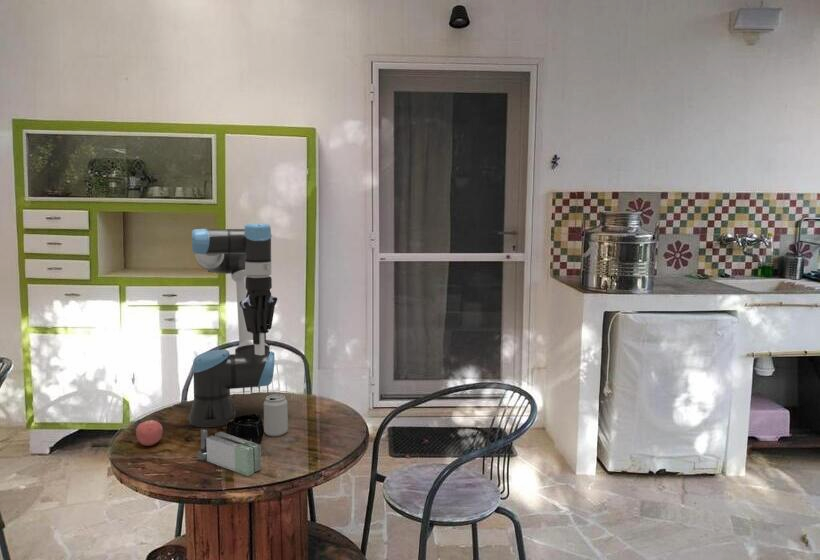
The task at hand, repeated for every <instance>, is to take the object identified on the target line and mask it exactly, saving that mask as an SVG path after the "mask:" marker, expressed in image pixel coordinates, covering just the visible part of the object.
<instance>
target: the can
mask: <svg viewBox="0 0 820 560" xmlns="http://www.w3.org/2000/svg"><path fill="white" fill-rule="evenodd" d="M288 413H289V412H288V400H287V399H286V396H285V395H283V394H270V395H268V396H266V397H265V400H264V401H263V432H264V433H265V434H266V435H267V436H269V437H281V436H283V435H285V434H286V433H287V432H288V430H289V429H288V428H289V424H288V421H289V420H288V417H289V415H288Z"/></svg>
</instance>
